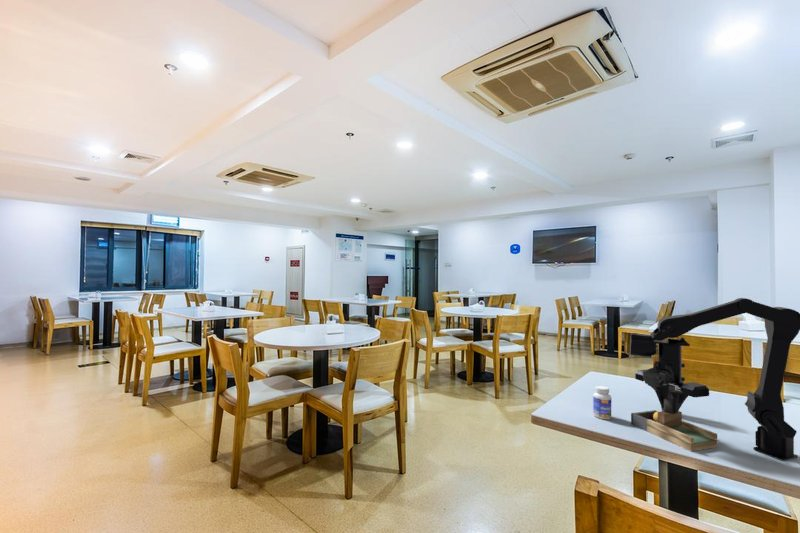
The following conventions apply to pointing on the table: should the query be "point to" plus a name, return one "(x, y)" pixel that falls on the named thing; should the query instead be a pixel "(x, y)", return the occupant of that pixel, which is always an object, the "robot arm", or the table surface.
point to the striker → (669, 414)
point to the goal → (642, 419)
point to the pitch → (684, 435)
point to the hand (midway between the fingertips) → (669, 410)
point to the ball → (655, 416)
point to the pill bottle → (602, 403)
